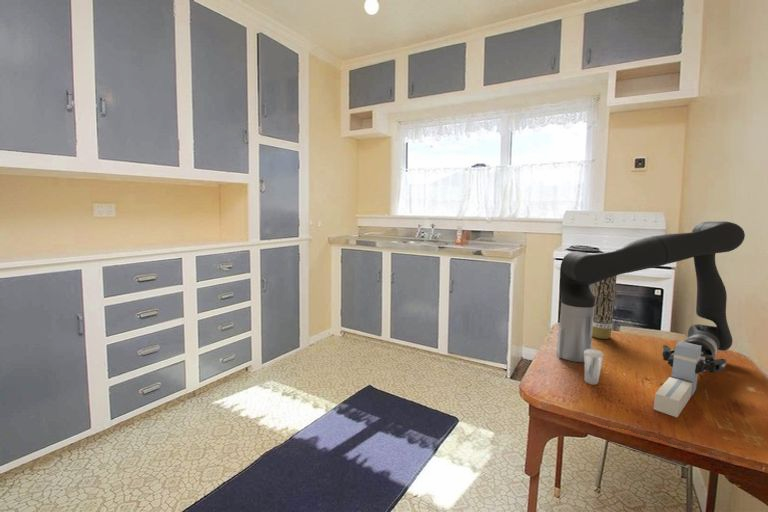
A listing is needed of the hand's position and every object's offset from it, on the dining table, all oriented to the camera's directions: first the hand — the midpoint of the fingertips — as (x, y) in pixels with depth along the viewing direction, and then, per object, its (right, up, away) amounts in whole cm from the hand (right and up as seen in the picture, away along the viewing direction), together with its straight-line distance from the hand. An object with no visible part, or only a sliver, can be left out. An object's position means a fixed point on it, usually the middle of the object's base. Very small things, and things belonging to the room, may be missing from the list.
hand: (684, 366), depth 96 cm
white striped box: (-6, -8, -4) cm, 11 cm away
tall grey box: (+2, -7, +2) cm, 7 cm away
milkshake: (-20, -6, +7) cm, 22 cm away
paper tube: (+2, -1, +42) cm, 42 cm away
